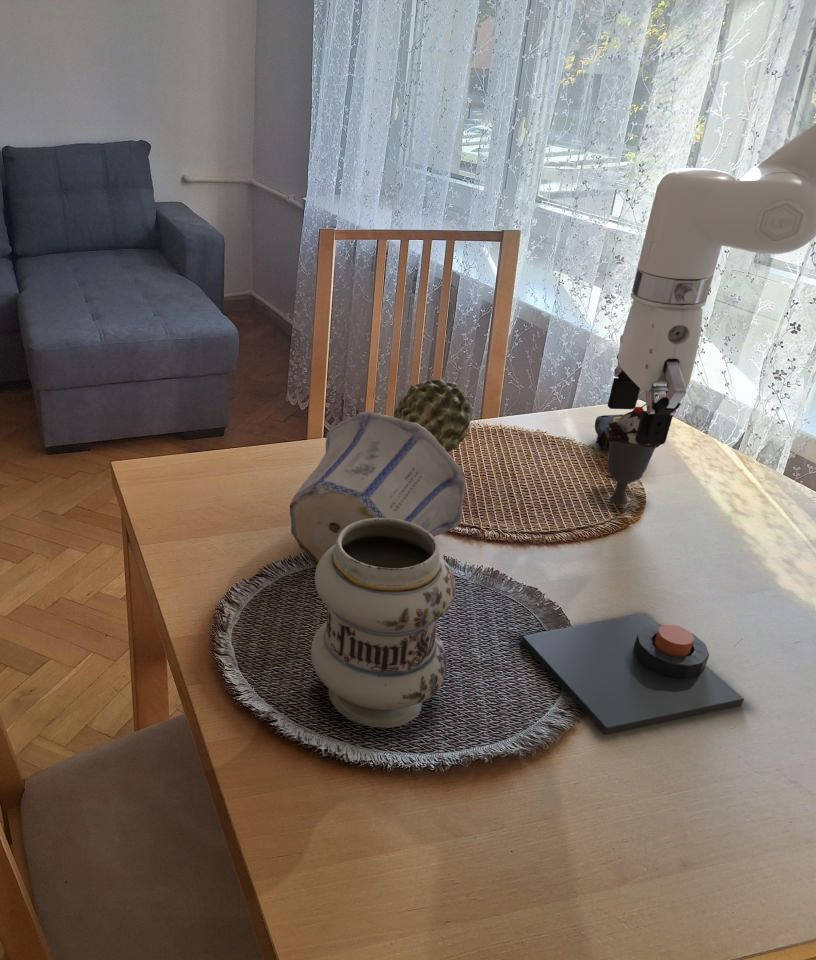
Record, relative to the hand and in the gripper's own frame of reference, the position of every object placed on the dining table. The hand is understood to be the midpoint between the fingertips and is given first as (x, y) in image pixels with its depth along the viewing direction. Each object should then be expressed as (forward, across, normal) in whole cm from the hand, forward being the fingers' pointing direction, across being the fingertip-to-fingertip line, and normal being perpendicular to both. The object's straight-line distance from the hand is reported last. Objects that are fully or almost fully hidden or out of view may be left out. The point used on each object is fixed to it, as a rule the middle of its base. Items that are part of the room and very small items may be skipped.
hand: (634, 424), depth 104 cm
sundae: (+12, 0, 0) cm, 12 cm away
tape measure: (+12, +17, -5) cm, 21 cm away
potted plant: (+12, -8, +29) cm, 32 cm away
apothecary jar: (+12, -38, +34) cm, 52 cm away
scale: (+11, -33, +10) cm, 36 cm away
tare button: (+8, -32, +5) cm, 33 cm away
